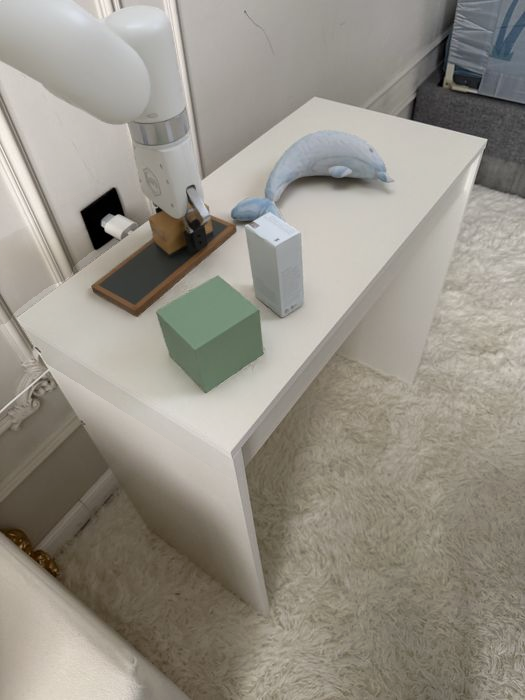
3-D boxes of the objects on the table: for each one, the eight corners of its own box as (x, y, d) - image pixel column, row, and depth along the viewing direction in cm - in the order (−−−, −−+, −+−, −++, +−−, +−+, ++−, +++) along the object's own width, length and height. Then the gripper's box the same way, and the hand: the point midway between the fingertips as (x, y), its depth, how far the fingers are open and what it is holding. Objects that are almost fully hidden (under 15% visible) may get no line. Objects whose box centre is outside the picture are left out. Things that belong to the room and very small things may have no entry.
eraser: (169, 257, 77) (162, 230, 73) (155, 245, 79) (147, 217, 75) (213, 234, 80) (208, 206, 76) (198, 222, 82) (193, 195, 78)
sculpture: (315, 281, 80) (402, 185, 89) (317, 248, 73) (411, 148, 82) (227, 229, 86) (316, 144, 95) (221, 194, 79) (318, 107, 88)
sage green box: (205, 393, 62) (194, 350, 56) (169, 355, 66) (155, 311, 60) (263, 353, 66) (259, 309, 60) (225, 319, 70) (217, 274, 64)
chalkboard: (137, 316, 71) (134, 310, 70) (93, 292, 75) (90, 286, 74) (236, 231, 82) (235, 225, 81) (193, 213, 86) (192, 207, 85)
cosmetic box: (305, 304, 71) (305, 230, 62) (280, 320, 69) (276, 247, 60) (276, 281, 74) (271, 208, 65) (251, 296, 72) (243, 224, 63)
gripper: (99, 111, 69) (133, 223, 83) (171, 160, 60) (196, 277, 73) (148, 92, 72) (173, 203, 85) (223, 136, 63) (238, 253, 76)
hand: (183, 237), depth 79 cm, fingers open, 6 cm apart
